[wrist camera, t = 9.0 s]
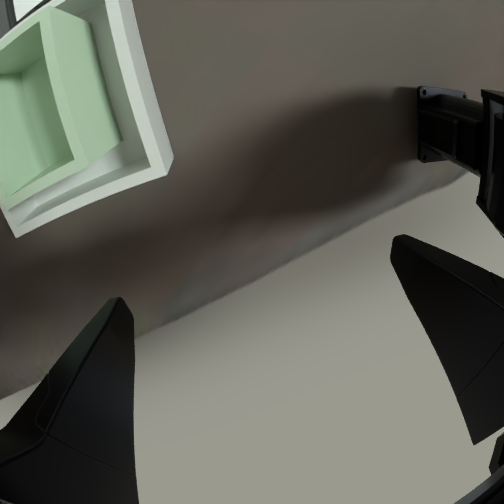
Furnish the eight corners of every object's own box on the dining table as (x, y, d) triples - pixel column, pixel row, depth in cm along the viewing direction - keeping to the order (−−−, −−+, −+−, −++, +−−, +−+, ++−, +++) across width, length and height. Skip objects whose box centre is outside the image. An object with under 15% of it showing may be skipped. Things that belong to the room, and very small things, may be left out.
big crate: (129, -12, 9) (112, -32, 6) (174, 156, 17) (167, 174, 14) (-7, 72, 9) (-39, 77, 6) (39, 212, 17) (16, 238, 14)
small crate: (92, 23, 10) (48, 5, 5) (123, 140, 15) (89, 166, 10) (18, 70, 10) (-36, 77, 5) (49, 174, 15) (5, 211, 10)
